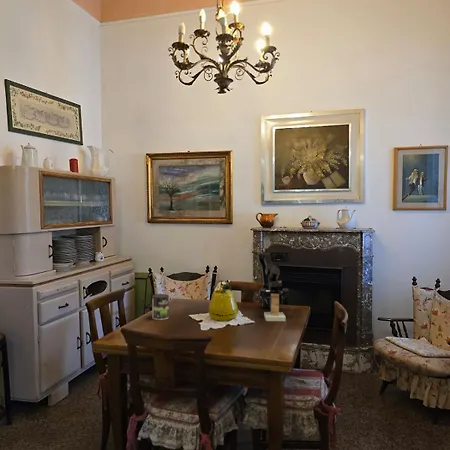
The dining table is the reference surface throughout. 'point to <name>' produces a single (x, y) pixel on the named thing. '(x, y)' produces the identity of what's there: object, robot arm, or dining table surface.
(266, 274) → the robot arm
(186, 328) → the dining table surface
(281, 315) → the tile base
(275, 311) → the oak block
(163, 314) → the coffee can
